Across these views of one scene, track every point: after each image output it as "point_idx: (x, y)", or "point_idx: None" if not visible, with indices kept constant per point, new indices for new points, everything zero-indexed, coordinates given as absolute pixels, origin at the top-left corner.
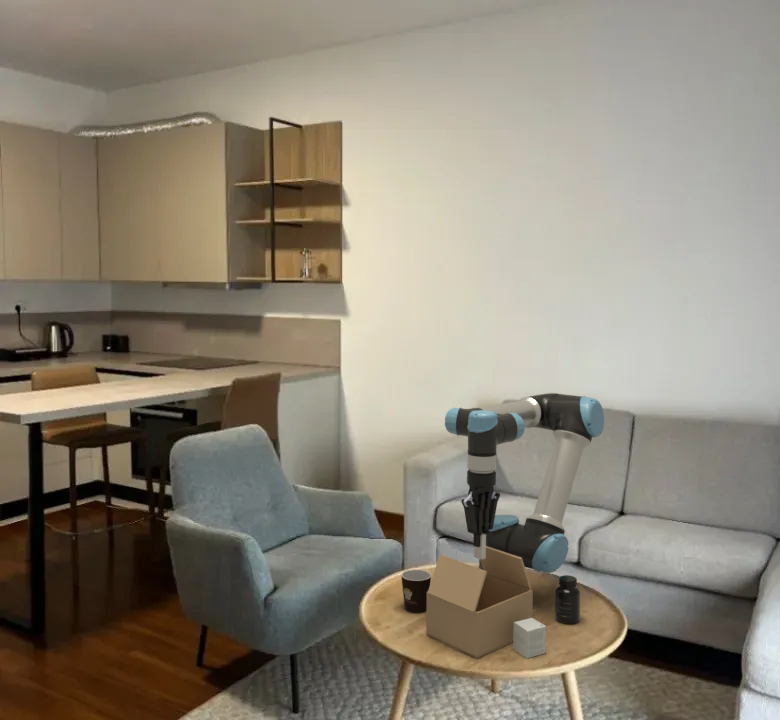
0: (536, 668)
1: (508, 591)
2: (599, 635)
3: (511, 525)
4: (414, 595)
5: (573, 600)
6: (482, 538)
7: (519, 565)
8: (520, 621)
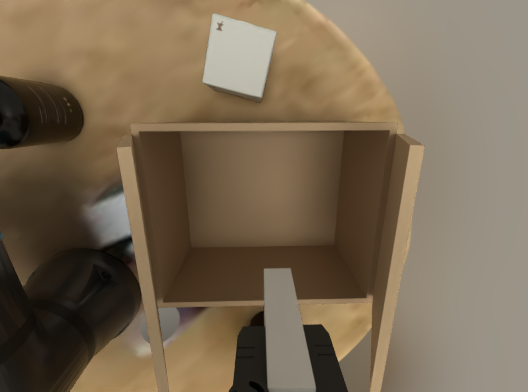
0: (292, 4)
1: (160, 204)
2: (48, 3)
3: None
4: None
5: (10, 79)
6: (308, 362)
7: (134, 163)
8: (245, 86)
